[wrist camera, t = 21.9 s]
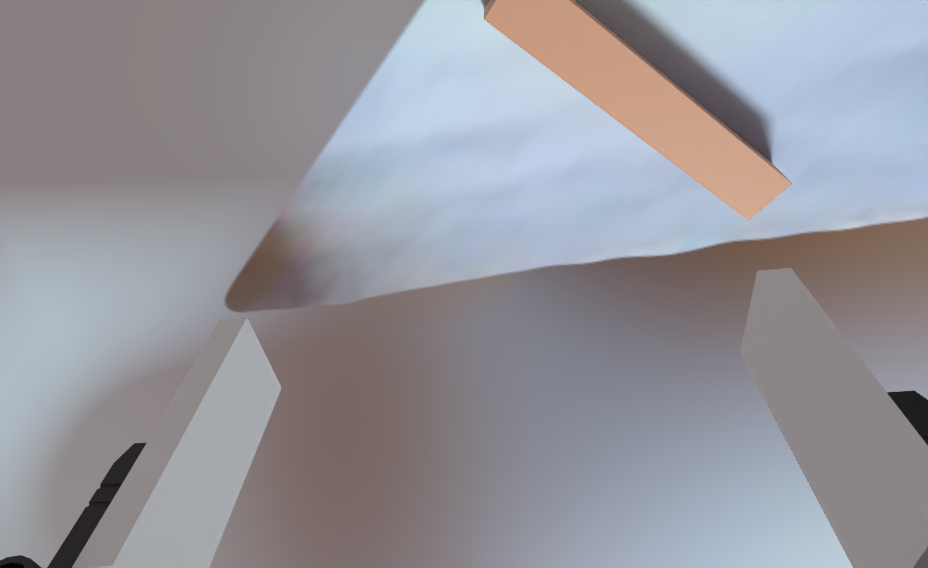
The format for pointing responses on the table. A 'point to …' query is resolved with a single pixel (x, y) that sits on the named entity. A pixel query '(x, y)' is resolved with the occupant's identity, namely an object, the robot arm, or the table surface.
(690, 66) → the table surface
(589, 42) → the bar
